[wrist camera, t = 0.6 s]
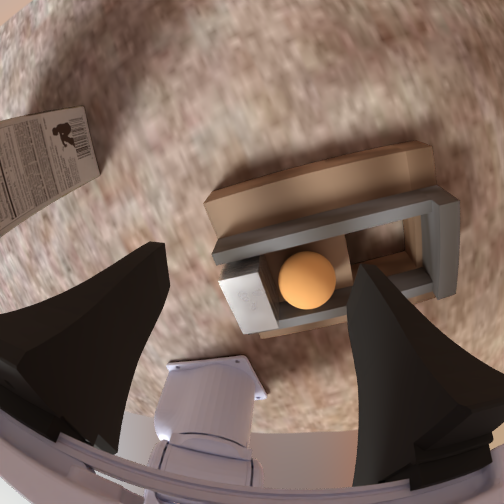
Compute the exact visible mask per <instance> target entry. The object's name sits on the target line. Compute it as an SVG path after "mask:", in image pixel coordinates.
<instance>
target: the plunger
mask: <svg viewBox="0 0 504 504" xmlns="http://www.w3.org/2000/svg"><path fill="white" fill-rule="evenodd" d="M218 282H219V284H220V286H221V289H222V291H223V293H224V295H225V297H226V299H227V301H228V303H229V306H230V308H231V310H232V312H233V314H234V316H235V318H236V320H237V322H238V324H239V326H240V328H241V331H242V333H243V334H249V333H255V332H261V331H266V330H272V329H277V328H279V306H280V299H279V296H278V293H277V290H276V287H275V285H274V282H273V279H272V276H271V273H270V270H269V267H268V265H267V262H266V259H265V256H264V254H262V255H258V256H253V257H249V258H245V259H241V260H237V261H233V262H229V263H225V264H224V265H223V268H222V271H221V274H220V277H219V280H218Z"/></svg>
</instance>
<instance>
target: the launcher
mask: <svg viewBox="0 0 504 504" xmlns="http://www.w3.org/2000/svg"><path fill="white" fill-rule="evenodd" d="M203 204H204V207H205V209H206V211H207V214H208V216H209V219H210V221H211V224H212V226H213V229H214V231H215V233H216V236H217V238H218V241H217V243H216V245H215V248H214V250H213V252H212V257H213V259H214V261H215V263H216V265H221V264H225V263H229V262H233V261H237V260H241V259H245V258H249V257H253V256H258V255H262V254H264V256H265V259H266V262H267V265H268V267H269V270H270V273H271V276H272V279H273V282H274V285H275V287H276V290H277V293H278V296H279V299H280V306H279V328H277V329H272V330H266V331H261V332H255V333H259V336H260V338H261V339H265V338H271V337H277V336H282V335H287V334H293V333H298V332H303V331H308V330H313V329H317V328H322V327H327V326H331V325H336V324H340V323H344V322H347V308H346V305H347V302H348V299H349V296H350V293H351V290H352V287H353V284H354V281H355V278H356V274H357V271H358V268H359V265H360V264H370V265H376V266H377V267H378V268H379V269H380V270H381V271H382V272H383V273H384V274H385V275H386V276H387V277H388V279H389V280H390V281H391V282H392V283H393V284H394V285H395V286H396V287H397V288H398V289H399V290H400V292H401V293H402V294H403V295H404V296H405V297H406V298H407V299H408V300H409V301H410V302H411V303H412V304H416V303H419V302H422V301H426V300H429V299H432V298H435V297H436V298H437V300H439V299H442V298H445V297H448V296H451V295H454V294H456V287H457V277H458V265H459V248H460V200H458V199H457V198H455V197H454V196H453V195H451V194H450V193H448V192H447V191H445V190H444V189H442V188H441V187H439V186H438V185H437V181H436V171H435V163H434V155H433V148H432V146H430V145H428V144H425V143H422V142H419V141H417V140H415V141H409V142H404V143H399V144H394V145H389V146H384V147H379V148H374V149H369V150H365V151H360V152H355V153H351V154H347V155H342V156H338V157H334V158H330V159H326V160H322V161H318V162H314V163H310V164H306V165H302V166H298V167H294V168H291V169H287V170H283V171H280V172H276V173H272V174H269V175H265V176H262V177H258V178H255V179H252V180H248V181H245V182H242V183H238V184H235V185H232V186H229V187H225V188H222V189H219V190H216V191H213V192H211V194H210V195H209V196H208V198H207V199H206V201H205V202H204V203H203ZM399 220H403V227H404V239H405V251H403V252H399V253H395V254H392V255H388V256H384V257H380V258H376V259H372V260H368V261H365V262H361V263H357V264H353V265H350V261H349V255H348V249H347V244H346V239H345V234H347V233H351V232H355V231H359V230H363V229H367V228H371V227H375V226H379V225H383V224H387V223H391V222H395V221H399ZM303 251H312V252H316V253H319V254H321V255H323V256H324V257H325V258H326V259H328V261H329V262H330V263H331V265H332V266H333V268H334V271H335V275H336V285H335V289H334V292H333V294H332V295H331V297H330V298H329V300H328V301H327V302H325V303H324V304H323V305H321V306H319V307H317V308H313V309H300V308H297V307H295V306H293V305H291V304H290V303H288V302H287V301H286V300H285V299H284V297H283V296H282V294H281V292H280V289H279V284H278V277H279V272H280V269H281V267H282V265H283V264H284V262H285V261H286V260H287V259H288V258H289V257H291V256H292V255H294V254H296V253H299V252H303ZM255 333H249V334H255ZM249 334H248V335H249Z"/></svg>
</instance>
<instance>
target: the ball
mask: <svg viewBox="0 0 504 504" xmlns="http://www.w3.org/2000/svg"><path fill="white" fill-rule="evenodd" d="M278 284H279V289H280V292H281V294H282V296H283V297H284V299H285V300H286V301H287V302H288V303H290V304H291V305H293V306H295V307H297V308H300V309H313V308H317V307H319V306H321V305H323V304H324V303H325V302H327V301H328V300H329V298H330V297H331V295H332V294H333V292H334V289H335V285H336V275H335V271H334V268H333V266H332V265H331V263H330V262H329V261H328V259H326V258H325V257H324V256H323V255H321V254H319V253H316V252H312V251H303V252H299V253H296V254H294V255H292V256H291V257H289V258H288V259H287V260H286V261H285V262H284V264H283V265H282V267H281V269H280V272H279V277H278Z"/></svg>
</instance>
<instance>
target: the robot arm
mask: <svg viewBox="0 0 504 504" xmlns="http://www.w3.org/2000/svg"><path fill="white" fill-rule="evenodd" d="M169 288H170V280H169V273H168V266H167V258H166V250H165V243H160V242H148V243H146V244H144V245H143V246H141V247H139V248H138V249H136V250H135V251H133V252H131V253H130V254H128V255H127V256H125V257H124V258H122V259H121V260H119V261H117V262H116V263H114V264H113V265H111V266H110V267H108V268H106V269H105V270H103V271H101V272H100V273H98V274H96V275H95V276H93V277H92V278H90V279H88V280H86V281H85V282H83V283H81V284H79V285H77V286H75V287H73V288H71V289H69V290H67V291H65V292H63V293H61V294H59V295H56V296H54V297H52V298H49V299H47V300H45V301H42V302H40V303H37V304H34V305H31V306H28V307H25V308H22V309H19V310H16V311H12V312H8V313H4V314H0V477H1V478H2V479H4V480H5V481H6V482H7V483H8V484H9V485H10V486H11V487H12V488H13V489H15V490H16V491H17V492H18V493H19V494H20V495H22V496H23V497H24V498H25V499H26V500H28V501H29V502H30V503H31V504H176V503H180V504H504V444H502V445H500V446H498V447H496V448H494V449H492V450H490V448H489V443H491V442H492V441H493V435H492V431H494V430H495V429H496V428H497V427H498V426H500V425H501V424H502V423H503V422H504V374H503V373H501V372H499V371H497V370H495V369H493V368H492V367H490V366H488V365H487V364H485V363H483V362H482V361H480V360H479V359H477V358H475V357H474V356H473V355H471V354H470V353H468V352H467V351H465V350H464V349H463V348H461V347H460V346H459V345H457V344H456V343H455V342H453V341H452V340H451V339H450V338H448V337H447V336H446V335H445V334H444V333H442V332H441V331H440V330H439V329H438V328H437V327H435V326H434V325H433V324H432V323H431V322H430V321H429V320H428V319H427V318H426V317H425V316H424V315H423V314H422V313H421V312H420V311H419V310H418V309H417V308H416V307H415V306H414V305H413V304H412V303H411V302H410V301H409V300H408V299H407V298H406V297H405V296H404V295H403V294H402V293H401V292H400V290H399V289H398V288H397V287H396V286H395V285H394V284H393V283H392V282H391V281H390V280H389V279H388V277H387V276H386V275H385V274H384V273H383V272H382V271H381V270H380V269H379V268H378V267H377V266H376V265H370V264H360V265H359V268H358V271H357V274H356V278H355V281H354V284H353V287H352V290H351V293H350V296H349V299H348V302H347V305H346V308H347V323H348V332H349V337H350V342H351V348H352V353H353V358H354V364H355V369H356V375H357V383H358V400H359V428H358V446H357V457H356V465H355V473H354V479H353V485H352V487H346V488H331V489H278V488H263V482H264V471H263V466H262V465H261V464H260V463H259V460H258V459H256V458H252V449H249V441H250V433H251V424H252V416H253V407H254V400H262V399H266V398H267V394H266V392H265V390H264V388H263V386H262V385H261V383H260V381H259V379H258V377H257V375H256V373H255V372H254V370H253V368H252V366H251V364H250V362H249V360H248V358H247V357H246V356H243V355H240V356H233V357H225V358H216V359H207V360H197V361H186V362H174V363H168V364H167V366H166V367H167V369H168V370H169V374H168V377H167V380H166V382H165V385H164V388H163V391H162V393H161V396H160V399H159V402H158V405H157V408H156V411H155V417H154V424H155V430H156V433H157V436H158V437H159V439H160V440H161V441H160V442H158V443H156V444H155V446H154V448H153V450H152V452H151V455H150V458H149V461H148V465H147V466H145V465H141V464H138V463H135V462H132V461H129V460H126V459H123V458H120V457H118V456H115V455H114V454H116V453H117V452H118V444H119V437H120V431H121V425H122V420H123V415H124V410H125V406H126V401H127V397H128V394H129V390H130V386H131V382H132V379H133V376H134V373H135V370H136V366H137V363H138V361H139V358H140V356H141V353H142V351H143V349H144V347H145V344H146V342H147V340H148V338H149V336H150V334H151V332H152V330H153V328H154V326H155V324H156V322H157V319H158V317H159V315H160V313H161V311H162V309H163V307H164V304H165V301H166V298H167V295H168V292H169ZM94 470H96V471H98V472H101V473H103V474H106V475H108V476H110V477H113V478H116V479H118V480H121V481H124V482H127V483H129V484H132V485H135V486H138V487H141V488H144V489H145V490H144V496H143V497H142V496H140V495H137V494H135V493H133V492H131V491H129V490H127V489H125V488H124V487H123V486H121V485H119V484H117V483H114V482H112V481H110V480H107V479H105V478H103V477H101V476H99V475H96V473H95V471H94ZM173 502H175V503H173Z"/></svg>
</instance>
